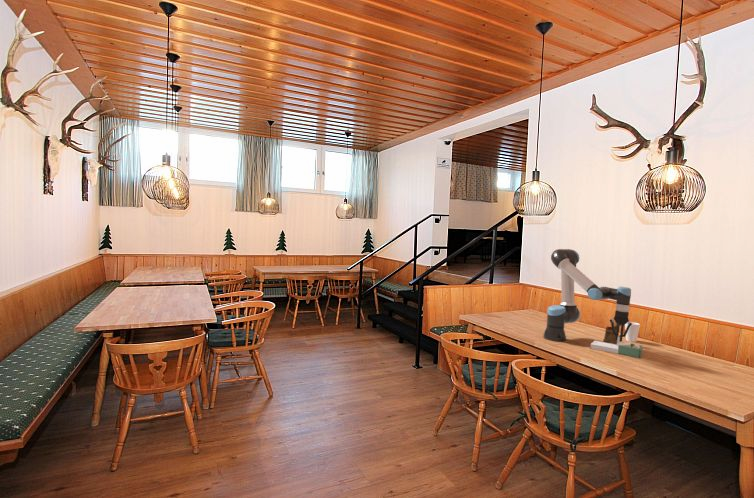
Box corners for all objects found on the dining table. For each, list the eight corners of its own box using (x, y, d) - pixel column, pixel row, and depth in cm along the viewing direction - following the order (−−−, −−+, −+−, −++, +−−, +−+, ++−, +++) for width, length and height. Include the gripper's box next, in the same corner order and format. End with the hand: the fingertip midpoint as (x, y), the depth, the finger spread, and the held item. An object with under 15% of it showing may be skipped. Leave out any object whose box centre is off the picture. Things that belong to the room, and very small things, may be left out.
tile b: (635, 345, 259) (639, 349, 258) (636, 343, 263) (640, 347, 262) (627, 350, 261) (631, 354, 260) (629, 348, 266) (632, 352, 265)
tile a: (619, 348, 265) (618, 344, 265) (620, 347, 269) (620, 342, 269) (629, 349, 261) (629, 344, 261) (631, 347, 266) (630, 342, 266)
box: (617, 353, 262) (618, 345, 262) (620, 349, 272) (621, 341, 272) (639, 358, 255) (640, 349, 255) (642, 354, 264) (642, 345, 264)
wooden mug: (625, 344, 286) (627, 319, 285) (609, 345, 283) (611, 319, 282) (615, 341, 295) (617, 316, 294) (599, 341, 291) (601, 316, 290)
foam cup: (625, 338, 305) (627, 321, 304) (640, 341, 298) (641, 323, 297) (622, 340, 298) (623, 322, 297) (636, 343, 291) (638, 325, 291)
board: (590, 348, 272) (590, 343, 272) (594, 344, 282) (594, 340, 282) (617, 353, 262) (618, 349, 262) (620, 349, 272) (621, 345, 272)
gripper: (610, 309, 267) (606, 344, 268) (632, 313, 259) (628, 349, 261) (612, 308, 273) (608, 342, 274) (634, 311, 265) (630, 347, 266)
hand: (618, 346), depth 267 cm, fingers closed
